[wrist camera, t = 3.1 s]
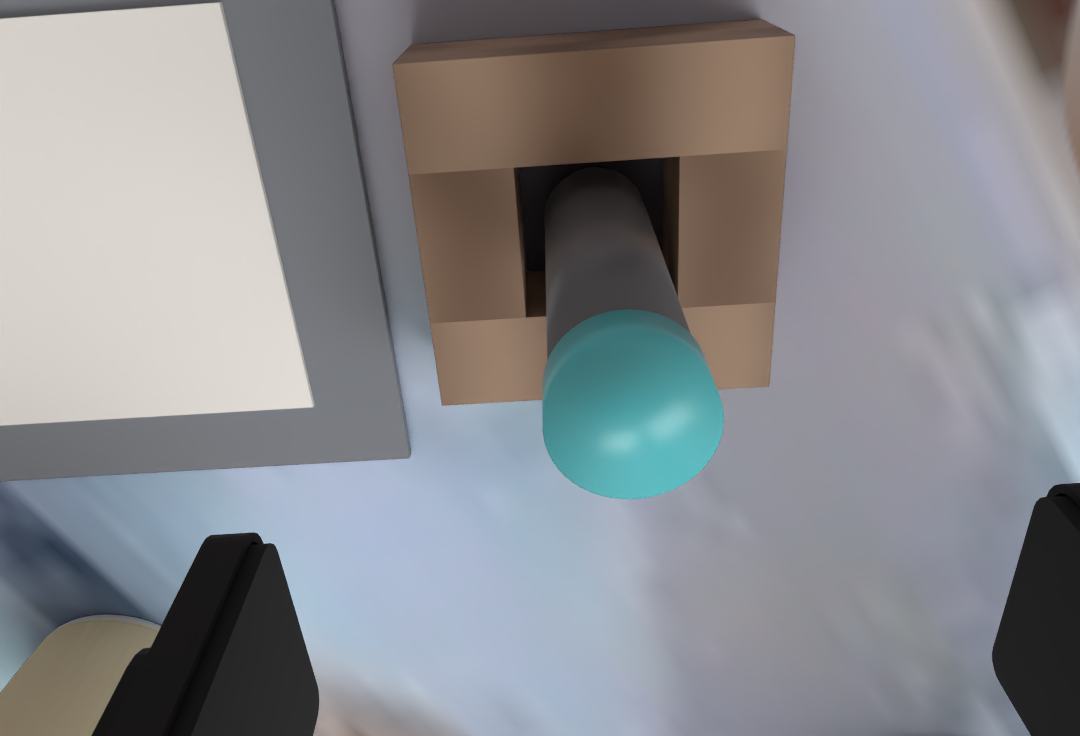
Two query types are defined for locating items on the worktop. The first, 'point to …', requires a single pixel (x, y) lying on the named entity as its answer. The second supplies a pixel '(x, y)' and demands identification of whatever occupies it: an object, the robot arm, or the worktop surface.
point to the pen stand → (596, 136)
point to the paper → (135, 225)
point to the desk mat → (308, 262)
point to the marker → (619, 348)
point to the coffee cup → (72, 676)
